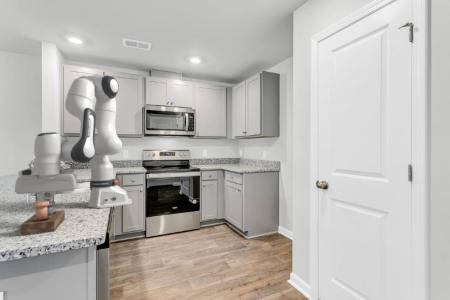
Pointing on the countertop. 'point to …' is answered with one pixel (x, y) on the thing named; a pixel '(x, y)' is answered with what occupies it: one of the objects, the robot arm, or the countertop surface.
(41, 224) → the wooden frame holder
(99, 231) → the countertop surface
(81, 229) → the countertop surface
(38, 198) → the syrup box
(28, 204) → the countertop surface
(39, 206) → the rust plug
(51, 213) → the grey plug
